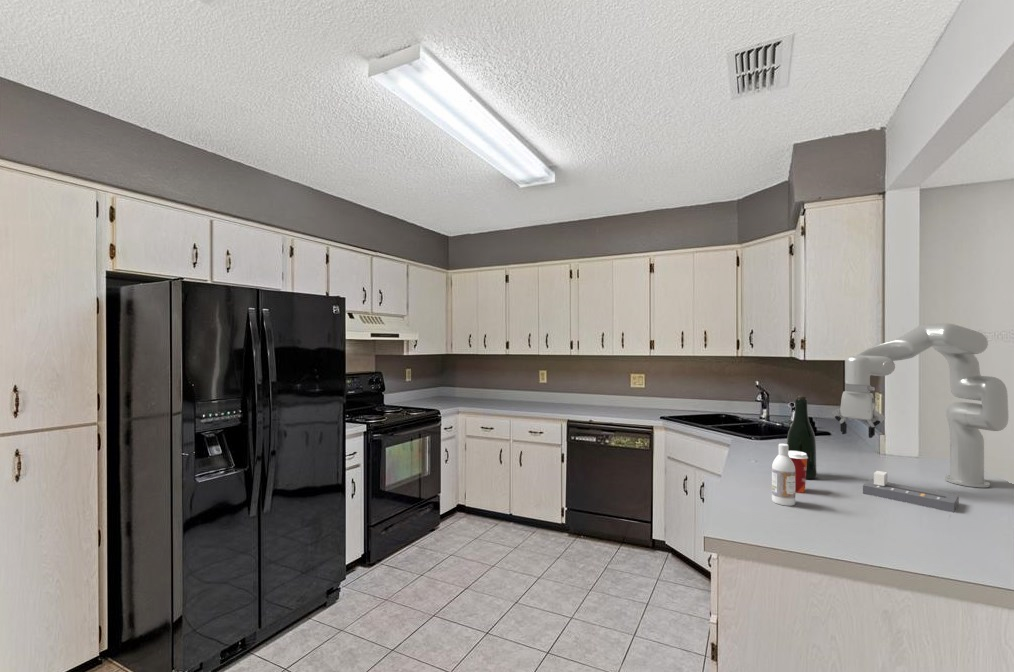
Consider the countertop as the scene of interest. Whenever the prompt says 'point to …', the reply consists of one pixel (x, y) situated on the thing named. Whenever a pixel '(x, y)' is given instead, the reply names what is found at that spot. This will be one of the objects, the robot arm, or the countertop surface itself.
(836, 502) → the countertop surface
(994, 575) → the countertop surface
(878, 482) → the fader knob
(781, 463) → the bath foam
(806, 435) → the green wine bottle
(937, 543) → the countertop surface
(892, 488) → the fader console
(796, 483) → the paper cup
